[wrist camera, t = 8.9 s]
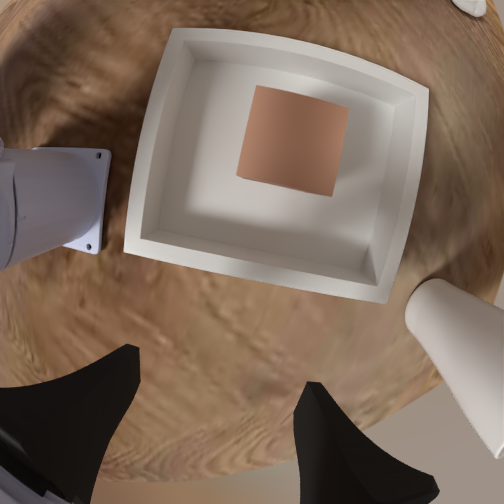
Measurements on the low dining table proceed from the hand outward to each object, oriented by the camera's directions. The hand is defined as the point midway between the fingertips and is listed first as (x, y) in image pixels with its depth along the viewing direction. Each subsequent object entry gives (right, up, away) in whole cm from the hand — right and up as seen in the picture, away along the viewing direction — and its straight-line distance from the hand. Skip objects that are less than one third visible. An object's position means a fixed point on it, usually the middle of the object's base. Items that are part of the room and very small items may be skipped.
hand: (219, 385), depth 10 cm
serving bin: (+3, +12, +7) cm, 14 cm away
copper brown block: (+3, +12, +6) cm, 13 cm away
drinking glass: (+16, +1, +9) cm, 19 cm away
